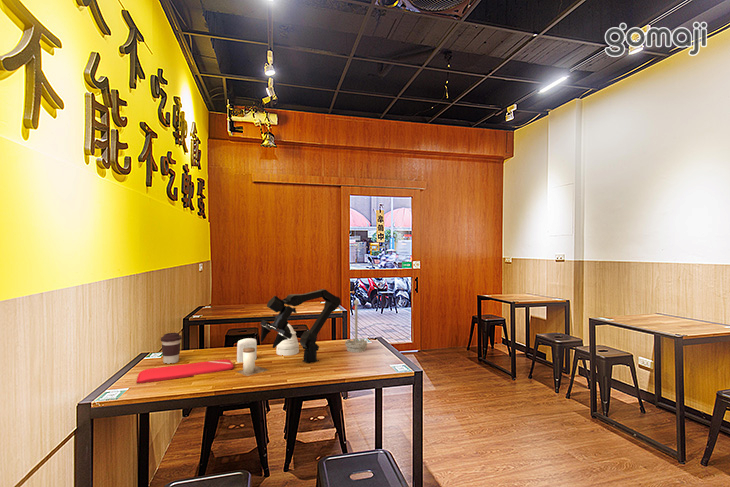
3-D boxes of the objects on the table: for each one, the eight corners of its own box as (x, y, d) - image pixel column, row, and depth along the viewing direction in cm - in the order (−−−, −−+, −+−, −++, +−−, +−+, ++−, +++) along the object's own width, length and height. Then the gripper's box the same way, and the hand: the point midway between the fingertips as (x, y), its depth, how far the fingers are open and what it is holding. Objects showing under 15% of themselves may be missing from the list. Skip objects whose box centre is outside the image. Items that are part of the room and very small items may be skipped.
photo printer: (255, 359, 205) (255, 336, 205) (257, 361, 201) (257, 338, 202) (235, 362, 199) (236, 339, 199) (238, 364, 196) (238, 340, 196)
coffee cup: (156, 363, 197) (156, 334, 197) (172, 358, 206) (172, 331, 207) (169, 365, 193) (170, 336, 194) (185, 360, 202) (185, 332, 203)
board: (257, 367, 190) (257, 366, 190) (269, 371, 183) (269, 370, 183) (235, 373, 181) (235, 371, 181) (247, 377, 174) (247, 376, 174)
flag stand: (371, 350, 223) (371, 300, 223) (351, 353, 216) (351, 301, 217) (360, 346, 234) (360, 298, 235) (341, 348, 227) (341, 299, 228)
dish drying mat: (140, 375, 180) (140, 367, 180) (230, 364, 197) (230, 357, 198) (136, 385, 165) (136, 377, 166) (233, 372, 183) (233, 364, 183)
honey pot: (274, 355, 212) (274, 323, 213) (279, 349, 225) (279, 319, 226) (296, 355, 213) (296, 323, 213) (300, 349, 225) (300, 319, 226)
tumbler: (250, 369, 184) (251, 346, 185) (257, 371, 181) (257, 348, 181) (240, 372, 180) (240, 348, 181) (246, 374, 177) (247, 350, 177)
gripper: (304, 328, 192) (288, 356, 187) (280, 317, 203) (264, 344, 198) (292, 319, 184) (275, 349, 179) (267, 309, 195) (251, 336, 189)
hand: (267, 344), depth 186 cm, fingers open, 9 cm apart
